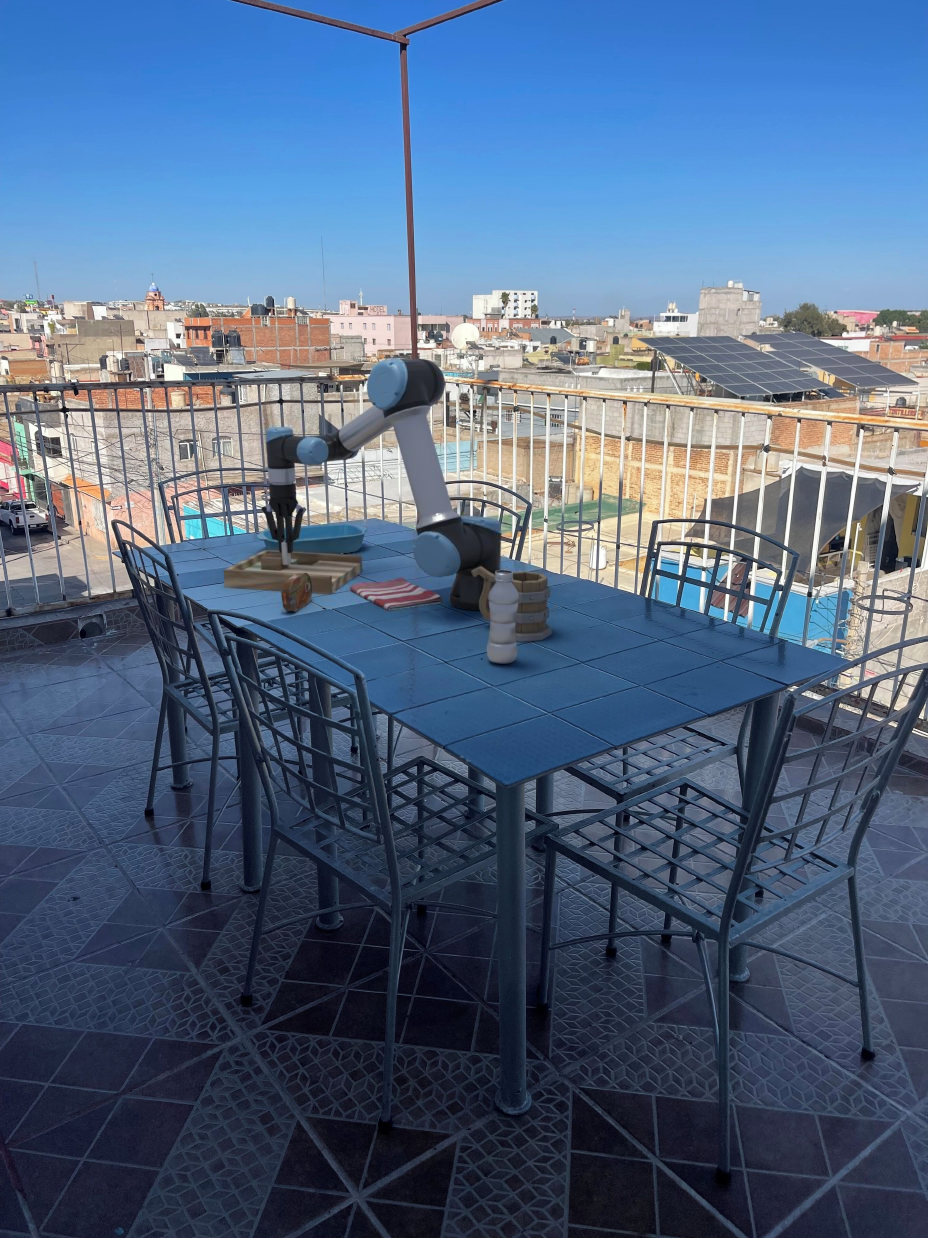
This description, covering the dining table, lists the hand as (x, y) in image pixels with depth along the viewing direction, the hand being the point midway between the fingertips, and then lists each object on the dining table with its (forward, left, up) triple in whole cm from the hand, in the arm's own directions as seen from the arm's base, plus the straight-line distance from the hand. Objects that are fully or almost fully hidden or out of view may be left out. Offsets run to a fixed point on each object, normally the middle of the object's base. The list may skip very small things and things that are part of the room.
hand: (286, 563), depth 248 cm
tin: (-27, -14, -5) cm, 31 cm away
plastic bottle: (-56, -73, -5) cm, 93 cm away
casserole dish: (+37, +7, -5) cm, 38 cm away
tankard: (-34, -71, -5) cm, 79 cm away
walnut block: (0, +4, -2) cm, 4 cm away
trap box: (0, -3, -5) cm, 6 cm away
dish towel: (-11, -36, -5) cm, 38 cm away
